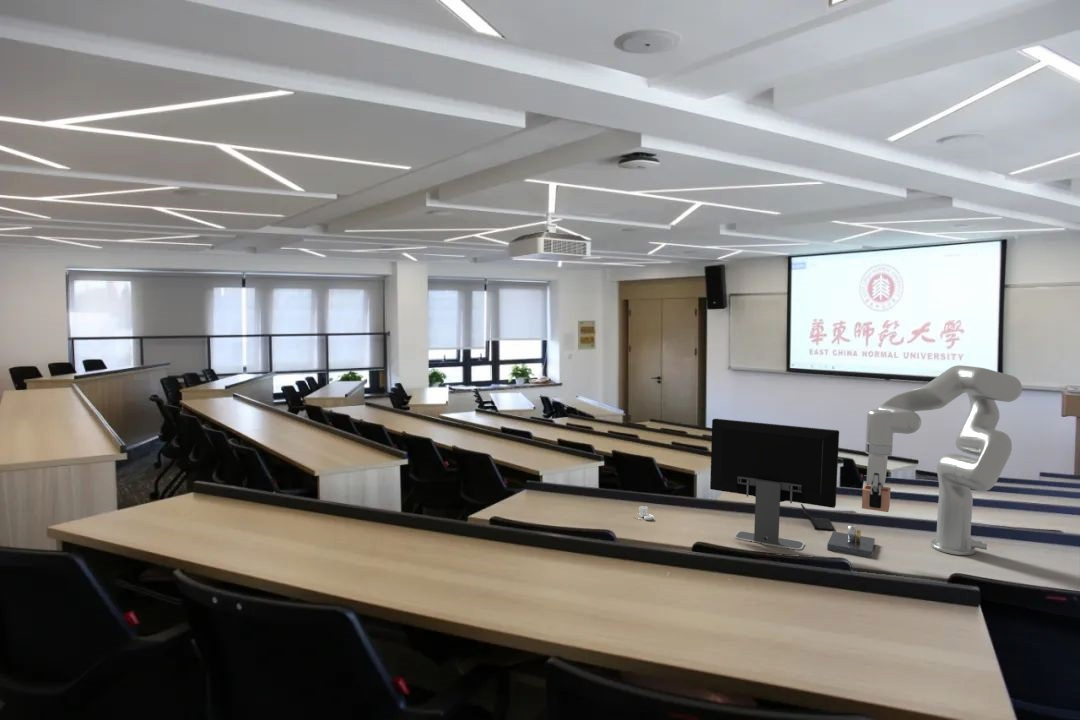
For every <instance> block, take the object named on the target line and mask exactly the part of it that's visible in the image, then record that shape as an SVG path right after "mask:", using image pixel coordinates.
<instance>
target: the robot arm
mask: <svg viewBox="0 0 1080 720" xmlns="http://www.w3.org/2000/svg"><path fill="white" fill-rule="evenodd" d="M1022 392H1023V386H1022V383H1021V381H1020V379H1018V378H1017V377H1016V376H1015V375H1011V374H1007V373H1004V372H999V371H995V370H993V369H989V368H985V367H979V366H969V365H962V364H961V365H960V364H959V365H954V366H950V367H949V368H947V369H946V370H945V371H943V372H942V373H941V374H939V375H938V376H936V377H935V378H933V379H932V380H930V381H929V382H928V383H926V384H925V385H923V386H921V387H918V388H917V387H916V388H914V389H911V390H908V391H905V392H902V393H899V394H896V395H894V396H892V397H891V398H889V399H888V400H886V401H885V402H884V403H882V404H880V406H879V407H878V408H876V409H875V408H874V409H870V410H869V411H868V412H867V415H866V433H865V454H867V455H868V456H867V457H868V458H867V470H866V482H865V484H867V485H871V494H870V501H869V506H870V507H874V508H881V487H885V486H884V485H885V482H886V478H887V472H888V471H887V470H888V457H891V456H892V455H893V447H894V445H893V442H894V441H893V440H894V434H896V433H897V434H903V435H909V434H913V433H916V432H917V431H919V429H921V425H922V419H921V416H920V415H919V414H918V413H917V412H921V411H922V412H923V411H933V410H939V409H943V408H945V406H947V405H948V404H950V403H951V402H953V401H954V400H955V399H957V398H958V397H959V396H961V395H962V394H965V393H966V394H967V396H968V399H969V404H970V405H969V411H968V414H967V416H966V418H965V420H964V422H963V423H962V426H961V428H960V430H959V432H958V434H957V437H956V439H955V446H956V448H957V449H958V450H959V451H961V452H963V453H966V454H969V455H973V456H976V457H979V458H978V459H977V458H973V457H970V456H966V455H963V454H957V453H947V454H944V455H942V456H941V457H940V458H939V459H938V461H937V465H936V473H937V480H938V500H937V501H938V503H937V519H936V520H937V523H936V535H935V536H936V537H935V538H934V539H932V540H930V547H932V548H933V549H934V550H936V551H939V552H942V553H945V554H951V555H956V556H970V555H971V556H972V555H974V554H975V553H976V549H980V550H985V551H986V550H987V549H988V545H987V543H984V542H982V541H981V540H974V539H972V535H971V531H972V518H973V517H972V516H973V505H974V503H973V501H974V499H973V493H972V490H975V491H980V492H987V491H989V490H991V489H992V488H993V487H994V486H995V485H996V483H997V482H998V480H999V478H1000V476H1001V474H1002V472H1003V469H1004V468H1005V466H1006V464H1007V463H1008V460H1009V458H1010V456H1011V453H1012V447H1013V445H1012V439H1011V438H1010V436H1009V435H1008V434H1007V433H1005V432H1003V431H1001V430H997V429H996V427H997V426H998V423H999V420H1000V410H999V408H998V405H997V403H996V401H999V402H1005V403H1010V402H1014V401H1016V400H1017V399H1019V397H1020V396H1021V394H1022ZM878 488H879V489H878Z"/></svg>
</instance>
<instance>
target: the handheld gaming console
mask: <svg viewBox="0 0 1080 720" xmlns="http://www.w3.org/2000/svg"><path fill="white" fill-rule="evenodd" d="M800 505H801V507H802V510H803V512H804V515H805V516H806V518H807V519H808V520H809V521H810V523H811V524H812V526H813V528H814V530H815V531H825V532H833V531H834V532H835V531H836V530H835V528H834V525H833V524H832V522H831V520H830V519H829V518H825V517H813V515H811V514H810V513H809V512H808V510H807V509H806V507H805V506H804V505H803V503H800Z"/></svg>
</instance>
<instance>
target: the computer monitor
mask: <svg viewBox="0 0 1080 720" xmlns="http://www.w3.org/2000/svg"><path fill="white" fill-rule="evenodd" d="M839 447H840V430H838V429H836V430H835V429H829V428H826V429H825V428H817V427H808V426H796V425H795V426H794V425H785V424H777V423H764V422H755V421H743V420H732V419H724V418H713V419H712V420H711V450H710V480H709V489H710V490H712V491H719V492H726V493H731V494H732V493H734V494H740V495H746V497H747V498H748V497H749V496H751V497H752V496H753V497H755V503H754V504H755V505H754V529H753V531H754V532H750V531H745V530H738V531H737V532H736V533H735V534H734V536H733V537H734V539H736V540H738V539H740V540H739V541H744V540H746V541H745V542H749V541H752V542H751V543H754V542H758V543H757V544H760V543H762V544H761V545H765V544H766V546H771V545H772V547H776V546H777V547H778V548H781V547H782V548H783V549H787V548H789V550H792V549H795V550H794V551H802V550H803V549H804V548H805V542H803V541H800V540H797V539H796V540H795V539H791V538H789V539H788V538H784V537H780V536H779V535H780V513H781V512H780V508H781V503H782V502H789V503H790V504H793V503H798V504H804V505H805V504H806V505H812V506H819V507H825V508H826V507H827V508H833V509H834V508H835V507H836V506H837V488H838V485H837V484H838V467H839ZM792 502H793V503H792Z"/></svg>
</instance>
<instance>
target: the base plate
mask: <svg viewBox="0 0 1080 720" xmlns="http://www.w3.org/2000/svg"><path fill="white" fill-rule="evenodd" d="M847 528H848V529H847V533H845V532H839V531H835V530H834V531H832V533H831V535H830V537H829V540H828V542H827V549H826V550H827V551H833V552H836V553H837V552H838V553H843V554H849V555H852V556H853V555H854V556H860V557H866V558H872V556H873V553H874V548H875V543H876V538H875V537H871V536H870V537H868V536H863V535H861V532H862V530H860V529H857V526H856V525H852V524H850V525H849V524H848V527H847Z"/></svg>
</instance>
